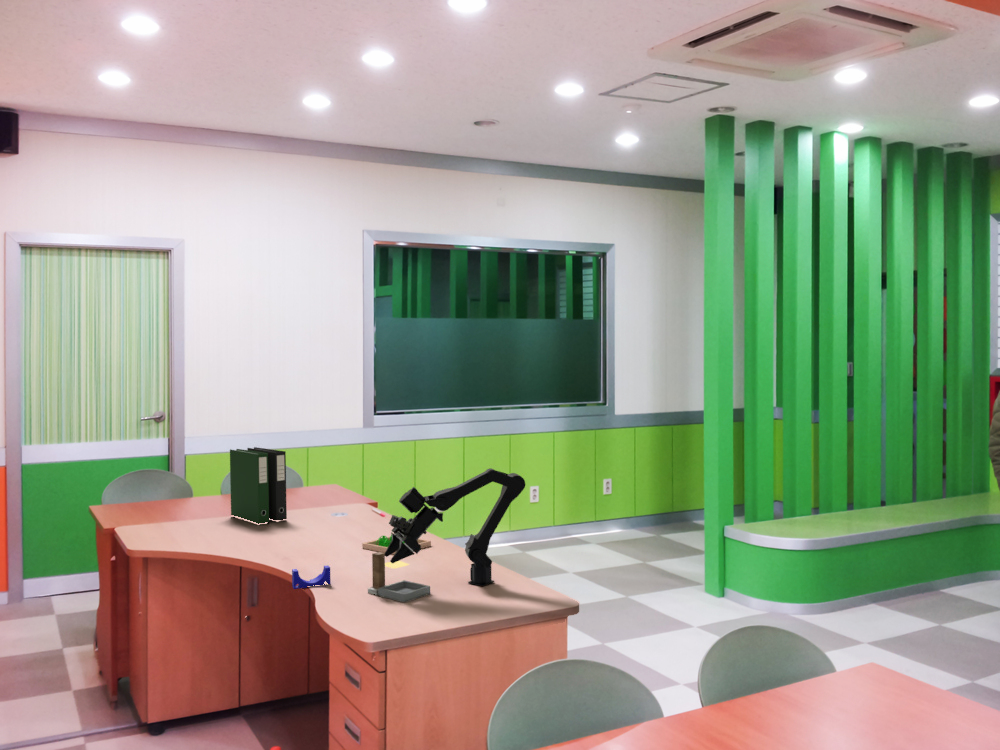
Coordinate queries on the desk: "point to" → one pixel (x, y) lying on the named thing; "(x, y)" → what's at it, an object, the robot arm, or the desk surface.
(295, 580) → the cable clip
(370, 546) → the shallow wooden tray
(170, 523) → the desk surface
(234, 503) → the binder
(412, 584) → the tray
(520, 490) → the robot arm
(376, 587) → the wooden post on base
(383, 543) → the green leafy plants
